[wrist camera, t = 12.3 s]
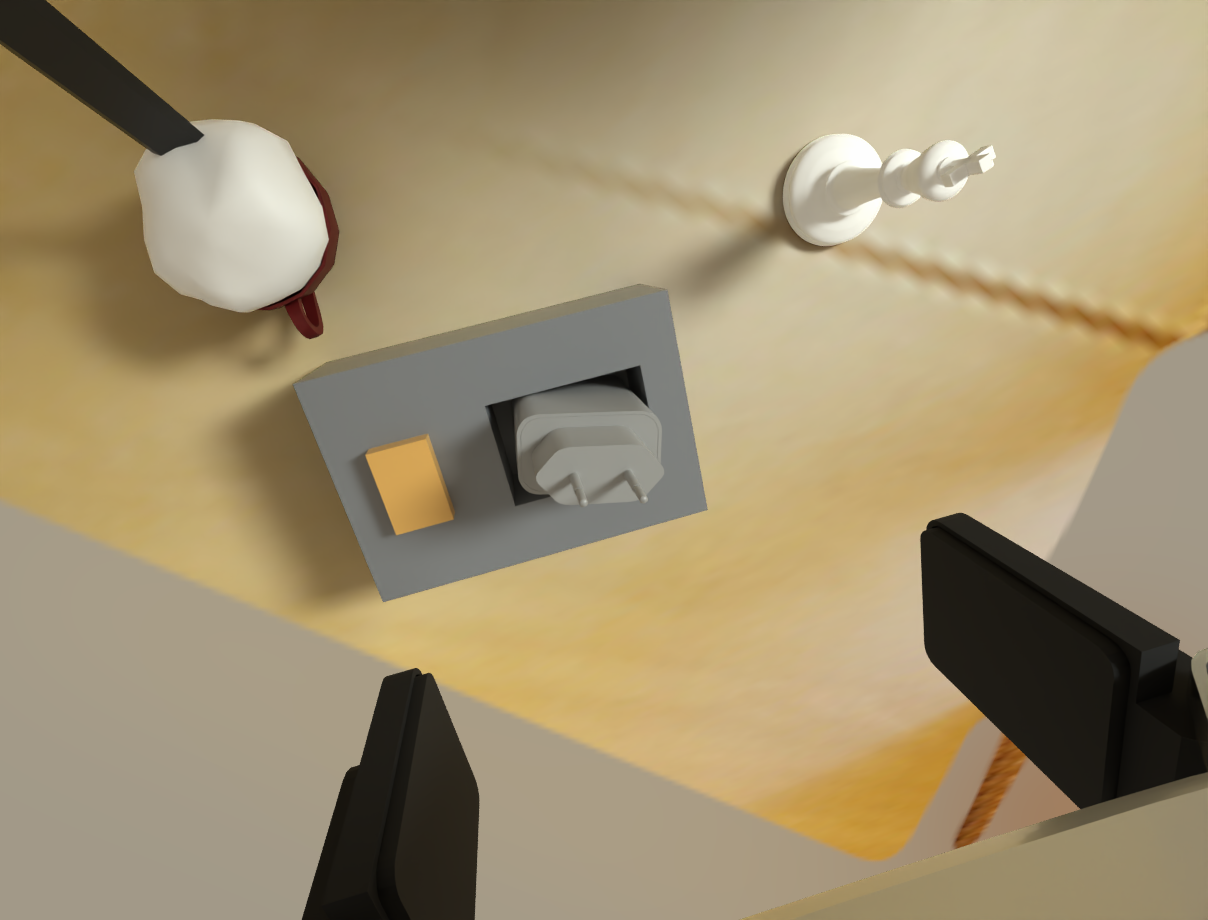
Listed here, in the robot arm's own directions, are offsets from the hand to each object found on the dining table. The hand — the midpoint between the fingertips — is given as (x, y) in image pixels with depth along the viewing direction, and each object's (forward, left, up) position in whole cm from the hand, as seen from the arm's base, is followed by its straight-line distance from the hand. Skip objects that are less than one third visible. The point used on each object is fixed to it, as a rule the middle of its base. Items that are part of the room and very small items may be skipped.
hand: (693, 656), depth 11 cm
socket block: (+3, 0, -21) cm, 21 cm away
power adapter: (0, 0, -20) cm, 20 cm away
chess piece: (-15, -7, -21) cm, 26 cm away
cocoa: (+10, -11, -21) cm, 26 cm away
